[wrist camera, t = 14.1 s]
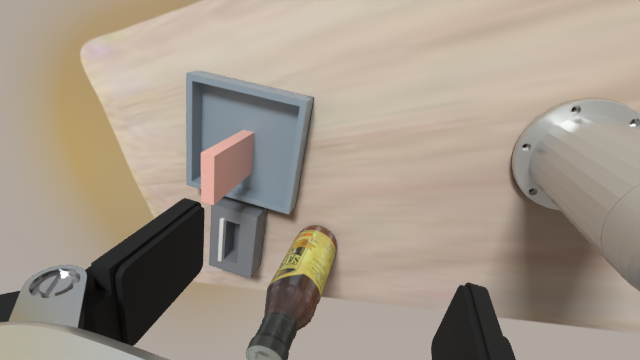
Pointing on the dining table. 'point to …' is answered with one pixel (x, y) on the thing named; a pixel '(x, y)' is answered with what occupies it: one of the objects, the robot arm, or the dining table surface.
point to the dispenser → (236, 236)
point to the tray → (256, 116)
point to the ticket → (226, 166)
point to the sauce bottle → (294, 293)
